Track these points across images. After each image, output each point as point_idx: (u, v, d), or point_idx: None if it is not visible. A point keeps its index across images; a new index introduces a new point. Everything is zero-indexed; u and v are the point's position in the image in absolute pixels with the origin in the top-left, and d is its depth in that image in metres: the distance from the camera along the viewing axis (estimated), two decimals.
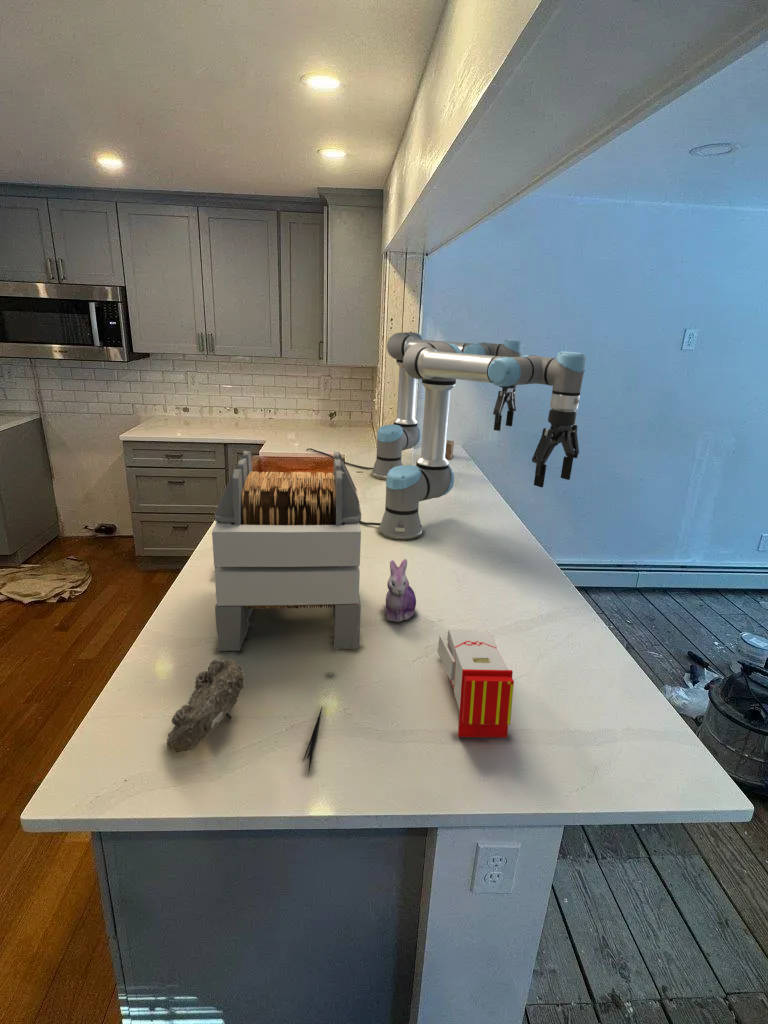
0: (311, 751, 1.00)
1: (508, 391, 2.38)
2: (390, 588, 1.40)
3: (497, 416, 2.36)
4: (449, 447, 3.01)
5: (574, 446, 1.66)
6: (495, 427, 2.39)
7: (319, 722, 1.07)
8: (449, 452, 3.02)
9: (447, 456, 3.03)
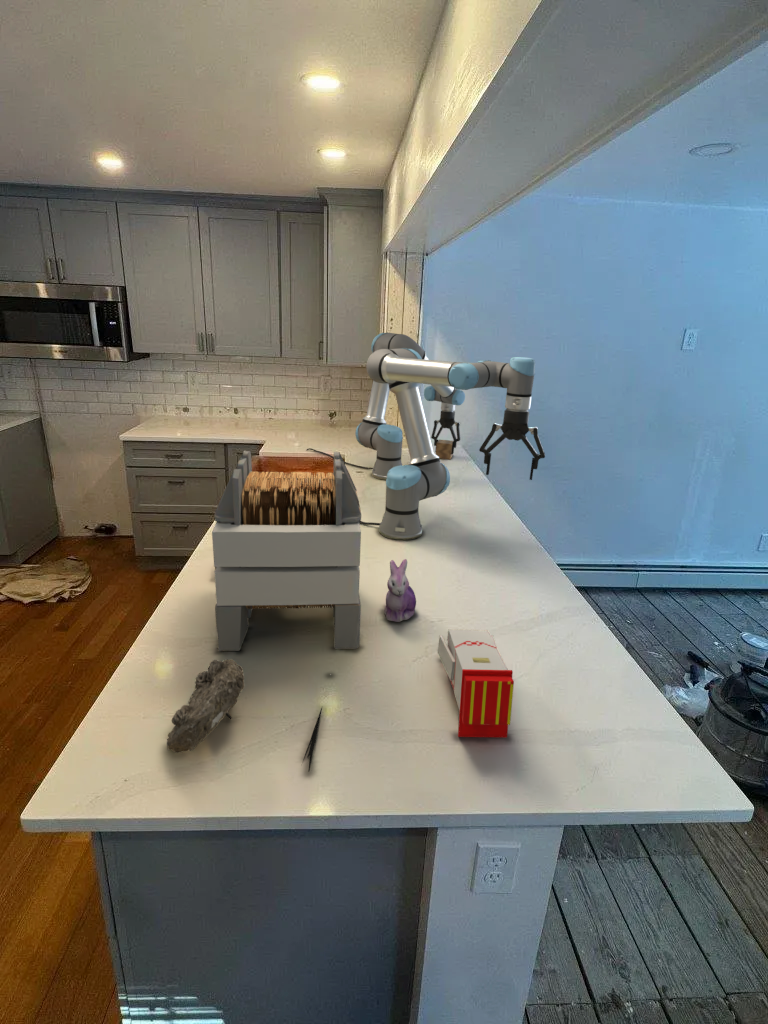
0: (311, 751, 1.00)
1: (443, 420, 3.00)
2: (390, 588, 1.40)
3: None
4: (449, 447, 3.01)
5: (538, 448, 1.75)
6: None
7: (319, 722, 1.07)
8: (449, 452, 3.02)
9: (447, 456, 3.03)
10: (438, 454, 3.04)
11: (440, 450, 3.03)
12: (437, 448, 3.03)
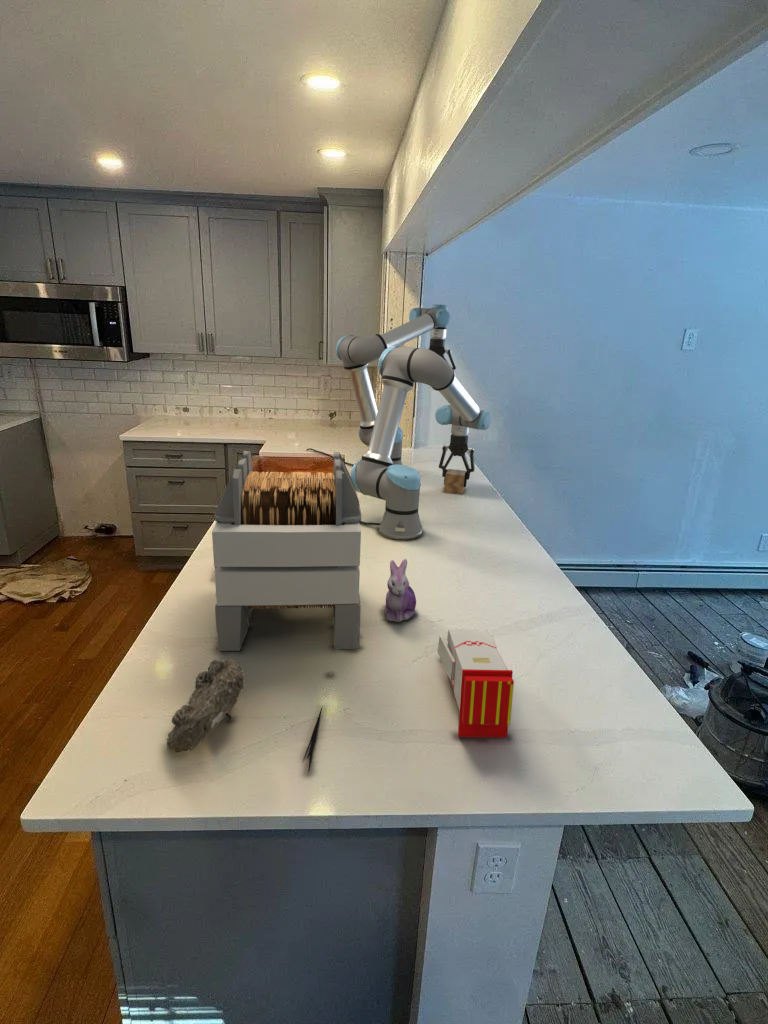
0: (311, 751, 1.00)
1: (433, 349, 2.75)
2: (390, 588, 1.40)
3: None
4: (461, 479, 2.44)
5: None
6: None
7: (319, 722, 1.07)
8: (461, 485, 2.45)
9: (458, 490, 2.46)
10: (447, 487, 2.47)
11: (450, 483, 2.46)
12: (446, 480, 2.46)
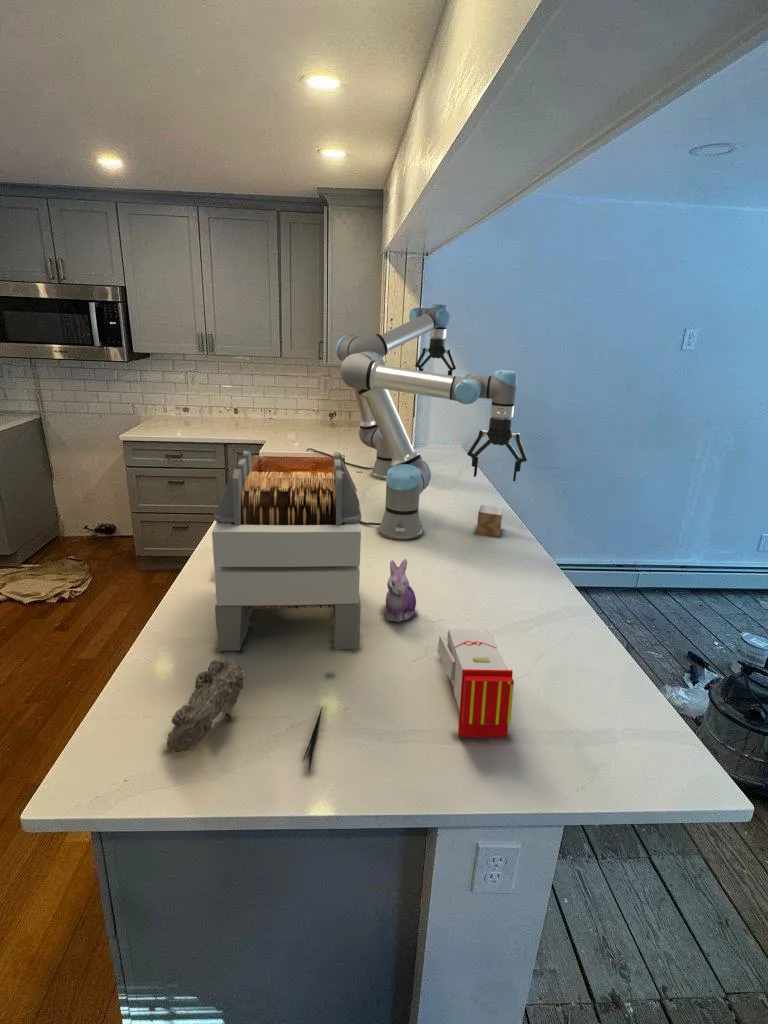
0: (311, 751, 1.00)
1: (433, 349, 2.75)
2: (390, 588, 1.40)
3: None
4: (498, 519, 1.99)
5: None
6: None
7: (319, 722, 1.07)
8: (498, 527, 2.00)
9: (494, 532, 2.01)
10: (480, 529, 2.02)
11: (484, 523, 2.01)
12: (479, 520, 2.01)
